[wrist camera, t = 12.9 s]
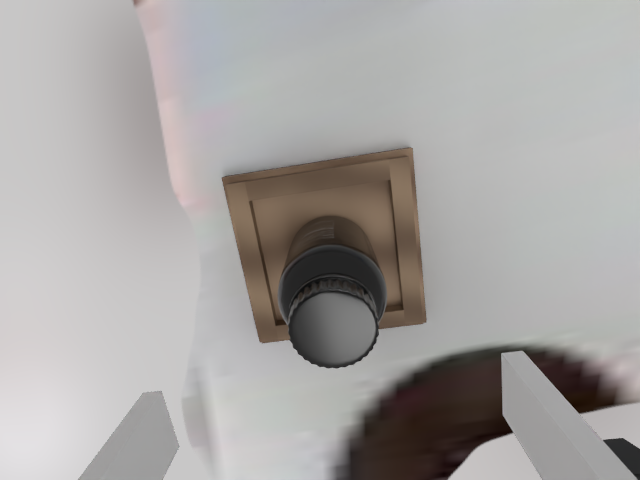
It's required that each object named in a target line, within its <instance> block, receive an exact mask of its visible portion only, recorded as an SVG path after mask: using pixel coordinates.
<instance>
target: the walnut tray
mask: <svg viewBox="0 0 640 480" xmlns="http://www.w3.org/2000/svg"><path fill="white" fill-rule="evenodd" d="M222 181H223V186H224V190H225V194H226V198H227V203H228V207H229V211H230V216H231V220H232V224H233V229H234V233H235V237H236V242H237V246H238V250H239V255H240V259H241V263H242V268H243V272H244V276H245V281H246V285H247V289H248V294H249V298H250V302H251V307H252V311H253V315H254V320H255V324H256V328H257V333H258V337H259V341H260V342H262V343H268V342H276V341H284V340H290V336H289V334H288V325H287V324H286V322H285V321H284V319H283V317H282V315H281V313H280V309H279V305H278V298H277V295H278V286H279V281H280V277H281V274H282V271H283V268H284V265H285V261H286V258H287V255H288V252H289V248H290V246H291V243H292V240H293V238H294V236H295V235H296V233H297V232H298V231H299V229H300V228H301V227H302V226H304V225H305V224H306V223H308V222H309V221H311V220H313V219H315V218H318V217H322V216H340V217H344V218H346V219H349V220H351V221H353V222H354V223H356V224H357V225H358V226H359V227H360V228H361V229H362V230H363V231H364V232H365V234H366V235H367V237H368V238H369V241H370V243H371V245H372V248H373V250H374V253H375V255H376V258H377V260H378V263H379V266H380V268H381V271H382V273H383V276H384V279H385V283H386V287H387V305H386V309H385V312H384V315H383V317H382V319H381V320H380V322H379V329H384V328H392V327H400V326H408V325H417V324H423V323H424V322H426V311H425V298H424V286H423V273H422V261H421V248H420V236H419V224H418V211H417V199H416V186H415V174H414V161H413V149H412V148H403V149H397V150H391V151H384V152H378V153H371V154H365V155H359V156H352V157H346V158H340V159H333V160H327V161H320V162H314V163H308V164H301V165H295V166H289V167H282V168H276V169H269V170H263V171H257V172H250V173H244V174H238V175H231V176H225V177H223V178H222Z"/></svg>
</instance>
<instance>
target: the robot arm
mask: <svg viewBox="0 0 640 480" xmlns="http://www.w3.org/2000/svg"><path fill="white" fill-rule="evenodd" d="M501 360H502V405H503V416H504V418H505V419H506V421H507V423H508V424H509V426H510V428H511V429H512V431H513V432H514V434H515V436H516V437H517V439H518V441H519V442H520V444H521V445H522V447H523V449H524V450H525V452H526V454H527V455H528V457H529V459H530V460H531V461H532V463H533V465H534V467H535V468H536V470H537V472H538V473H539V475H540V477H541V478H542V480H640V449H639V448H637V447H636V446H634V445H633V444H631V443H630V442H628V441H626V440H625V439H623V438H619V439H608V440H602V439H601V438H600V437H599V436H598V435H597V434H596V432H595V431H594V430H593V429H592V428H591V427H590V426H589V425H588V424H587V422H586V421H585V420H584V419H583V418H582V417H581V416H580V414H579V413H578V412H577V411H576V410H575V409H574V408H573V407H572V405H571V404H570V403H569V402H568V401H567V400H566V399H565V398H564V396H563V395H562V394H561V393H560V392H559V391H558V390H557V389H556V388H555V386H554V385H553V384H552V383H551V382H550V381H549V380H548V379H547V377H546V376H545V375H544V374H543V373H542V372H541V371H540V370H539V368H538V367H537V366H536V365H535V364H534V363H533V362H532V361H531V359H530V358H529V357H528V356H527V355H526V354H525V353H524V352H523V351H517V352H508V353H501ZM178 448H179V444H178V441H177V438H176V435H175V432H174V428H173V425H172V422H171V419H170V416H169V413H168V410H167V407H166V403H165V400H164V397H163V394H162V391H155V392H147V393H143V394H142V395H141V396H140V398H139V399H138V400H137V402H136V403H135V404H134V406H133V407H132V408H131V410H130V411H129V412H128V414H127V415H126V416H125V418H124V419H123V420H122V422H121V423H120V424H119V426H118V427H117V428H116V430H115V431H114V432H113V434H112V435H111V436H110V438H109V439H108V440H107V442H106V443H105V444H104V446H103V447H102V448H101V450H100V451H99V452H98V454H97V455H96V456H95V458H94V459H93V461H92V462H91V463H90V464H89V466H88V467H87V468H86V470H85V471H84V473H83V474H82V475H81V476H80V478H79V479H78V480H163V478H164V476H165V474H166V472H167V470H168V468H169V466H170V464H171V462H172V460H173V458H174V456H175V454H176V452H177V450H178Z"/></svg>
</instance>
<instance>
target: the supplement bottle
mask: <svg viewBox="0 0 640 480" xmlns="http://www.w3.org/2000/svg"><path fill="white" fill-rule="evenodd" d="M277 298H278V305H279V309H280V313H281V315H282V317H283V319H284V321H285V322H286V324H287V325H288V334H289V336H290V341H291V342H292V343H293V348H294V349H296V350H297V352H298V354H299V355H301V356H303V358H304V359H305V360H307V361H309V362H310V363H311V364H316V365H318V366H319V367H326V368H332V367H333V368H339V367H346V366H348V365H353V364H355V363H356V362H358V361H361V360H362V358H363V357H365V356H367V355H368V353H369V351H371V350H372V349H373V345H374V344H375V343H376V338H377V337H378V335H379V332H378V329H379V322H380V320H381V319H382V317H383V315H384V312H385V309H386V305H387V287H386V283H385V279H384V276H383V273H382V271H381V268H380V266H379V263H378V260H377V258H376V255H375V253H374V250H373V248H372V245H371V243H370V241H369V238H368V237H367V235H366V234H365V232H364V231H363V230H362V229H361V228H360V227H359V226H358V225H357V224H356V223H354V222H353V221H351V220H349V219H346V218H344V217H340V216H322V217H318V218H315V219H313V220H311V221H309V222H308V223H306V224H305V225H304V226H302V227H301V228H300V229H299V231H298V232H297V233H296V235H295V236H294V238H293V240H292V243H291V246H290V248H289V252H288V255H287V258H286V261H285V265H284V268H283V271H282V274H281V277H280V281H279V286H278V295H277Z"/></svg>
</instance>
